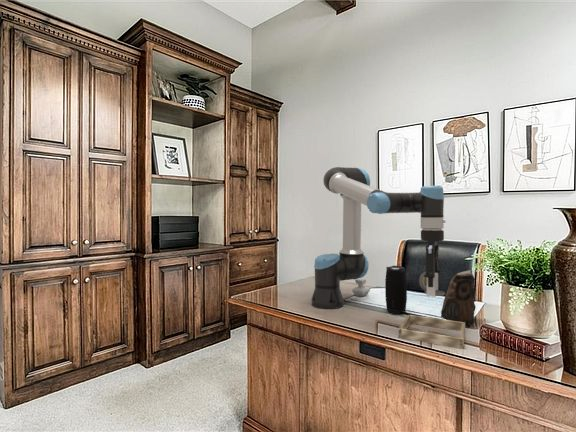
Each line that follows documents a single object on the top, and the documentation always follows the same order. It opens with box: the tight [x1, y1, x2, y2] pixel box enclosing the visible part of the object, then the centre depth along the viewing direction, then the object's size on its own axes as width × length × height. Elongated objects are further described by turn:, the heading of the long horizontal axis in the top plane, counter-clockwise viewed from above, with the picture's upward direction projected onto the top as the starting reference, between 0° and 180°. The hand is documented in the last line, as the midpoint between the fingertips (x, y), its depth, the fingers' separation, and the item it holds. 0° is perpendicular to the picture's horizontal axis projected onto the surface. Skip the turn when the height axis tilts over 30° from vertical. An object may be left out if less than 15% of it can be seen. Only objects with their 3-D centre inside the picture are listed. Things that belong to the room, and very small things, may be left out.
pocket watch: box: [418, 264, 446, 297], centre depth 120 cm, size 8×8×10 cm
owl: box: [440, 269, 476, 327], centre depth 132 cm, size 13×13×20 cm
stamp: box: [351, 278, 371, 297], centre depth 174 cm, size 9×7×8 cm
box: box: [398, 314, 466, 350], centre depth 120 cm, size 20×18×3 cm
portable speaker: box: [384, 265, 408, 315], centre depth 146 cm, size 9×9×20 cm
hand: (432, 293), depth 120 cm, fingers closed on pocket watch, 8 cm apart
